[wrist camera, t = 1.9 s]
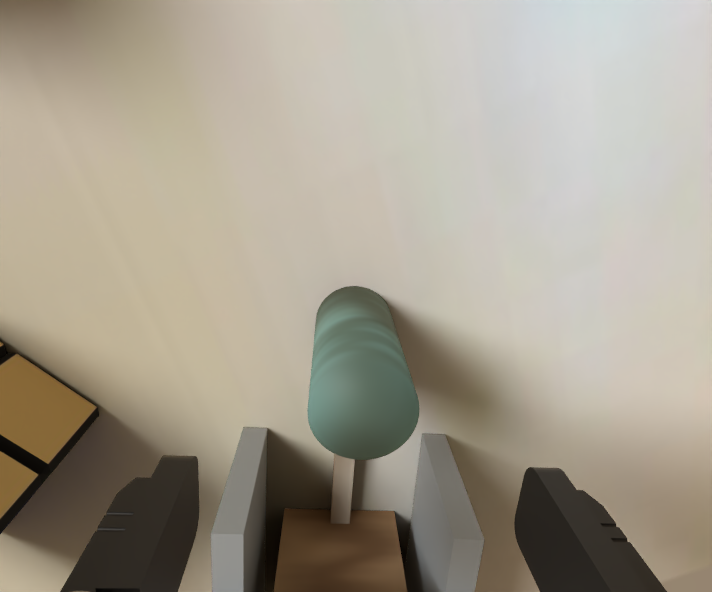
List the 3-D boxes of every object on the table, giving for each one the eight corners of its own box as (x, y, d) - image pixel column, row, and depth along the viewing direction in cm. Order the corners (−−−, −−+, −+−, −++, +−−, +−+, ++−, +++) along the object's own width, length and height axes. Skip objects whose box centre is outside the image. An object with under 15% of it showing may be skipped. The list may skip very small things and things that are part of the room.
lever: (420, 289, 23) (463, 365, 15) (384, 594, 29) (402, 758, 21) (291, 282, 23) (270, 357, 15) (281, 592, 28) (263, 759, 21)
